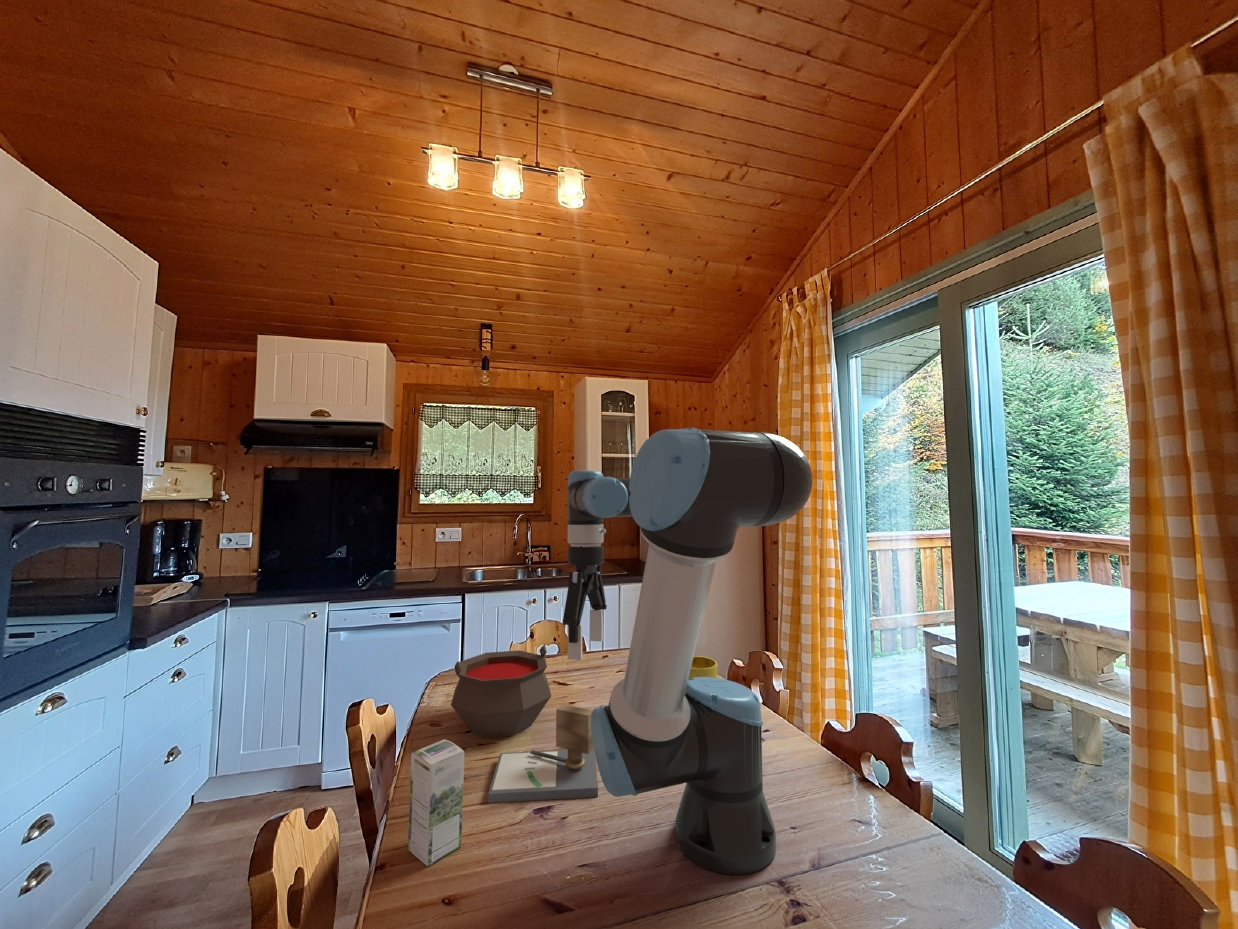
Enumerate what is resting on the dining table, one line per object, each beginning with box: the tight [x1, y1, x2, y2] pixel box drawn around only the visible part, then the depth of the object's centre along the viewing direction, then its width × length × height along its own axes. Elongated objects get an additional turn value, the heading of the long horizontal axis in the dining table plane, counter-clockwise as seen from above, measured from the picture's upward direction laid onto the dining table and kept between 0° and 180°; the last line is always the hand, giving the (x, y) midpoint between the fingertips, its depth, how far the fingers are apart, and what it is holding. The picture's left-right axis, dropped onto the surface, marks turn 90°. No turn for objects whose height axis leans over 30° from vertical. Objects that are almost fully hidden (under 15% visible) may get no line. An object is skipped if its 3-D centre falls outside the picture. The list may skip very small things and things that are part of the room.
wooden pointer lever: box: [529, 704, 594, 769], centre depth 97 cm, size 14×4×10 cm, turn 65°
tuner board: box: [487, 749, 599, 804], centre depth 95 cm, size 14×19×2 cm
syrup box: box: [407, 739, 465, 867], centre depth 76 cm, size 6×6×14 cm
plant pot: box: [688, 655, 718, 680], centre depth 131 cm, size 10×10×10 cm
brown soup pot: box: [450, 644, 552, 739], centre depth 118 cm, size 24×24×16 cm
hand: (586, 649), depth 103 cm, fingers open, 13 cm apart
